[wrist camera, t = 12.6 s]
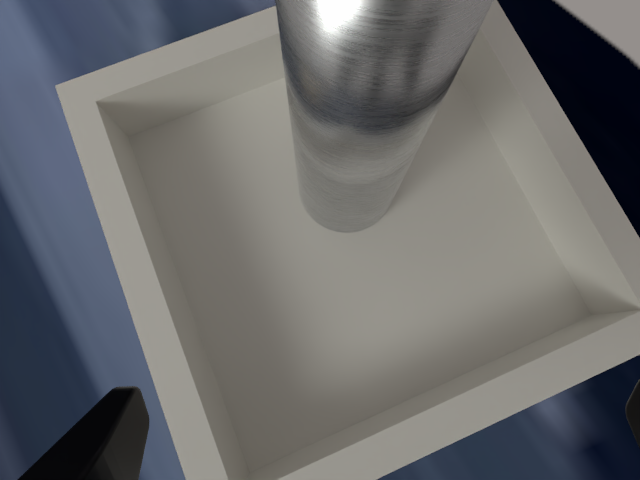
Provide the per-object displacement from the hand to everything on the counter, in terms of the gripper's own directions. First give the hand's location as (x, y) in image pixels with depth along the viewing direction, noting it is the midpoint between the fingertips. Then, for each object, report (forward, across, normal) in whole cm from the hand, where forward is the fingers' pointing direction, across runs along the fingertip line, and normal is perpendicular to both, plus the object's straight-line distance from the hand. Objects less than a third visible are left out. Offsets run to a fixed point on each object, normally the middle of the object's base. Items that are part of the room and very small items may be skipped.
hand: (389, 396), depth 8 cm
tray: (+12, 0, +3) cm, 12 cm away
